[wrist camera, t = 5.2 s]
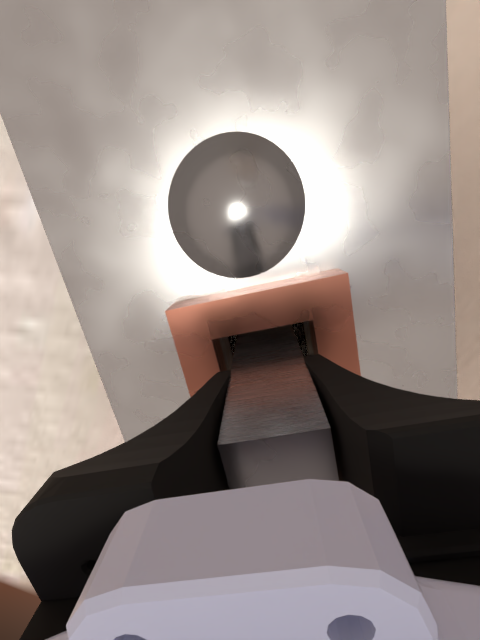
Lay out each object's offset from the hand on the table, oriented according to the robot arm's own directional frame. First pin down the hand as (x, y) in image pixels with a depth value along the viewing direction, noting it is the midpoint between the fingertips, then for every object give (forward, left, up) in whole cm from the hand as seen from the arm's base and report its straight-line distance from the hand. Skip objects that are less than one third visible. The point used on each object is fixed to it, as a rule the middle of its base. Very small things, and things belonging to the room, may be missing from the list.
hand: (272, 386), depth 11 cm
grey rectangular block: (0, 0, -5) cm, 5 cm away
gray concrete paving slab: (0, -4, -5) cm, 6 cm away
